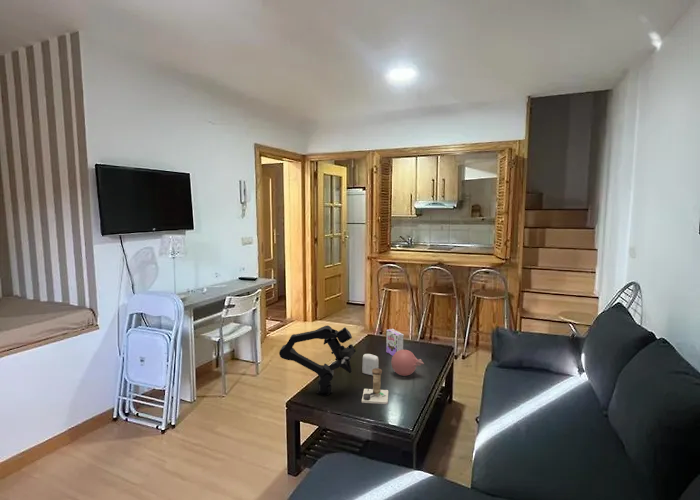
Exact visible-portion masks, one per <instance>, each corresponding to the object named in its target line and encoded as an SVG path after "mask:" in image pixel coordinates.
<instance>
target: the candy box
mask: <svg viewBox="0 0 700 500" xmlns="http://www.w3.org/2000/svg"><path fill="white" fill-rule="evenodd" d="M385 335H386V337H385V338H386V340H385V342H386V343H385V344H386V345H385V353H388V354H389V355H391V356H392V357H393V355H394V354H395V353H396V352H397V351H399V350H404V336H405V335H404V333H402V332H400V331H398V330H396V329H394V328H389V329H386V333H385Z"/></svg>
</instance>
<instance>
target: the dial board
mask: <svg viewBox="0 0 700 500" xmlns="http://www.w3.org/2000/svg"><path fill="white" fill-rule="evenodd" d="M370 393H373V388H363V393H362V398H361V403H362V404H364V403H365V404H377V405H378V404H379V405H388V404H389V403H388V402H389V390H388V389H380V393H379V394H374V395H371V396H370V399H369V400H365V399H363V395H364V394H370Z"/></svg>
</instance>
